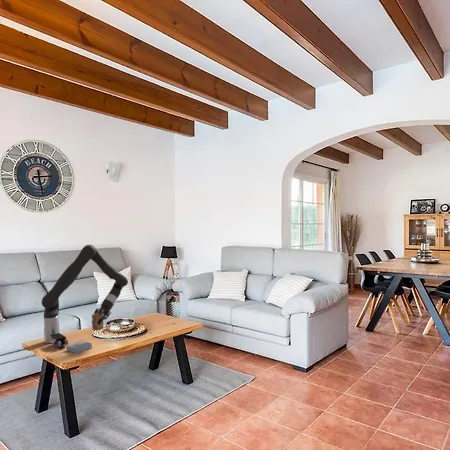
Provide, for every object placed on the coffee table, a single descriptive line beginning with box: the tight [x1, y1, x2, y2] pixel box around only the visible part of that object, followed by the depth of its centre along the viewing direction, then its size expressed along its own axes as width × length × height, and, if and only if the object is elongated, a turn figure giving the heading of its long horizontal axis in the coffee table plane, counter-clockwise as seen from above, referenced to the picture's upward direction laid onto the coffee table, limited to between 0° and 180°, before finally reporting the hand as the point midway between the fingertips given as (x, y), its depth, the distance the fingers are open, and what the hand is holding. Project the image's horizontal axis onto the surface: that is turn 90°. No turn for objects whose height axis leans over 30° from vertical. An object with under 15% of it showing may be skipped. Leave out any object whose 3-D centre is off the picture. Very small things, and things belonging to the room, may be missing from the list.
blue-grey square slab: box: [65, 340, 93, 354], centre depth 246 cm, size 11×11×3 cm
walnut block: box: [91, 313, 104, 331], centre depth 255 cm, size 5×5×10 cm
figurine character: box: [50, 332, 69, 350], centre depth 253 cm, size 7×8×15 cm
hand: (95, 323), depth 254 cm, fingers closed on walnut block, 5 cm apart
